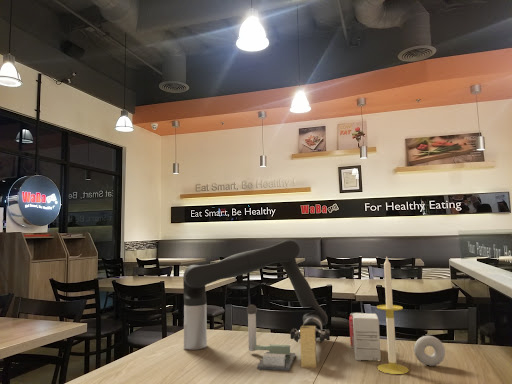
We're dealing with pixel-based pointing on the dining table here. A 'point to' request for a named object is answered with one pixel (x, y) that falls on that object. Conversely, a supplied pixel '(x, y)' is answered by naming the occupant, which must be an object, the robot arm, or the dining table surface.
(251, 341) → the sliding jaw
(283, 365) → the base
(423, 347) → the donut
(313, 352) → the brass block
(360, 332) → the supplement box
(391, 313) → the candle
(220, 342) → the dining table surface
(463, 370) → the dining table surface
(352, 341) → the soda can
